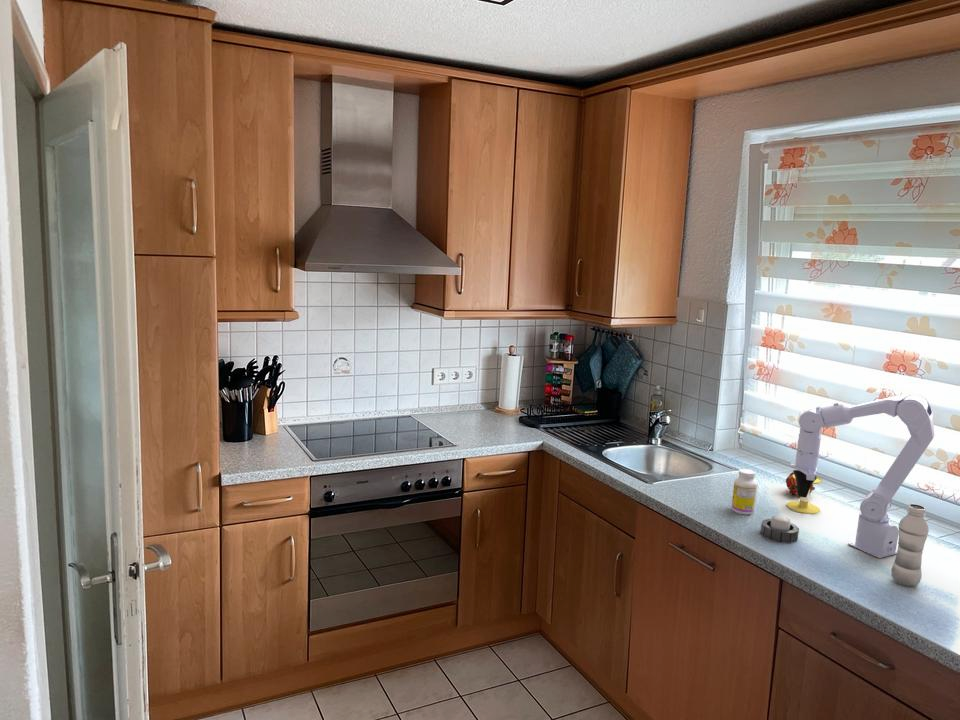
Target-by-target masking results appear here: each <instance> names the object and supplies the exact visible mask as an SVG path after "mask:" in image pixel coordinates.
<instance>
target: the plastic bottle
mask: <svg viewBox="0 0 960 720" xmlns="http://www.w3.org/2000/svg"><path fill="white" fill-rule="evenodd" d="M906 513H907V514H906V515H905V516H903V518H901V519H900V521H899V523H898V531H899V534H898V540H897V549H896V551H897V554H895V557H894V558H895V559H894V562H893V564H892V566H891V578H892V579H893V580H894V582H896V583H897V584H900V585H903V586H904V587H905V586H906V587H916V586H918V585H919V584H920V583H921V580H922V562H923V561H922V558H923V551H924V547H925V543H926V541H927V538H928V534H929V532H930V529H929V525H928V522H927V521H926V520H925V517H926V507H925V506H922V505H921V504H917V503H910V504H908V507H907V510H906Z"/></svg>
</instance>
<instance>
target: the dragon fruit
mask: <svg viewBox="0 0 960 720" xmlns="http://www.w3.org/2000/svg"><path fill="white" fill-rule="evenodd" d="M793 475H794V472H791V473H789V475H788V476H787V477H786V479H785V483H786V487H787V489H788V490H789V492H790V493H789V494H790V495H791V496H795V497H796V496H798V494H797V484H796V480H795V479H794V478H793ZM815 489H816V487H815V484H812V485H811V487H810V493H809V495H810V494H811V493H812V492H813V491H815Z"/></svg>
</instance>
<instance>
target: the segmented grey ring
mask: <svg viewBox="0 0 960 720" xmlns="http://www.w3.org/2000/svg"><path fill="white" fill-rule="evenodd" d="M770 525H771V518H767V519H763V520H762V521H761V525H760V531H759V532H760V534H761V536H762V537H763V538H765V539H767V538H768V540H770V541H771V542H772V541H773V542H776V543H781V544H792V543H796V542H797V541H798V540H799V533H800V528H799V527H798V525H796V524H794V523H792V522H790V529H789V531H781V530H777V529H774V528H772V527H770Z"/></svg>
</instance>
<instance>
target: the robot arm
mask: <svg viewBox="0 0 960 720" xmlns="http://www.w3.org/2000/svg"><path fill="white" fill-rule="evenodd" d="M880 414H886V415H889V416H891V417H893V418H896V417H897V416H898V419H900V421H901V422H903V424H905V425H906V427H907V429H908V432H909V434H910V437H909V439H908V441H907V442H906V443H905V444H904V447H903V448H902V449H901V450H900V451H899V454H898V455H897V457H896V458H895V460H894V461H893V463H892V464H891V466H890V467H889V469H888V470H887V471H886V474H884V476H883V478H881V481H880V482H879V484H878V485H877V486H876V488H875V489H873V490H871V491H869V492H868V493H867V495H866V497H865V498H864V499H863V500H862V501H861V503H860V505H859V510H860V512H859V513H858V522H857V528H856V534H855V540H853V541H849V542H847V545H848V546H851V547H854V548H855V549H858V550H860V551H862V552H865V553H867V554H869V555H871V556H873V557H875V558H878V559H881V558H884V557H889V556H892V555H896V554H897V547H898V541H899V527H898V526H896V525H895V524H893V523H892V522H891V521H890V517H889V515H888V511H889V510H890V509H891V508H892V505H893V504H892V500H893V497H894V496H895V495H896V493H897V491H899V489H900V488H901V486H902V485H903V483H904V482H905V480H906V479H907V477H908V476H909V474H910V473H911V471H913V469H914V467H915V466H916V465H917V463H918V461H919V460H920V458H921V457H922V456H923V454H924V453H925V451H926V450H927V449H928V446H929V445H930V444H931V443H932V441H933V439H934V436H935V428H934V427H935V426H934V417H933V416H934V415H933V409H932V406H931V404H930V403H929V401H928V400H927V398H926V397H924V396H923V395H922V394H917V393H916V394H915V393H914V394H913V393H912V394H910V395H909V394H908V395H907V396H906V395H896V396H890V397H886V398H881V399H876V400H874V401H873V400H872V401H868V402H865V403H860V404H856V405H852V406H850V405H848V404H846V403H844V402H842V403H840V401H838V402H834V403H833V405H829V406H824V407H821V406H816V407H815V408H810V409H808V410H806V411H804V412H803V413H802V414H801V415H800V416H799V418H798V425H799V427H800V428H799V433H798V439H797V448H796V452H795V453H796V454H795V462H794V463H792V462H791V463H790V467H791V468H793V469H794V470H793V472H794V475H795V478H796V484H797V494H798V495H797V496H798V497H799V498H800V497H805V498H806V497H807V494H808V492H809V489H810V487H811V485H812V484H813V482H814V481H815V480H816V478H817V477H818V476H817V475H816V473H817V471H818V463H819V461H818V460H819V453H820V446H821V440H822V439H821V438H822V437H821V436H822V435H821V434H822V428H824V429H828V428H835V427H838V426H843V425H850V424H851V423H852V421H853V419H855V418H861V417H868V416H873V415H880ZM813 485H814V484H813Z"/></svg>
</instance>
